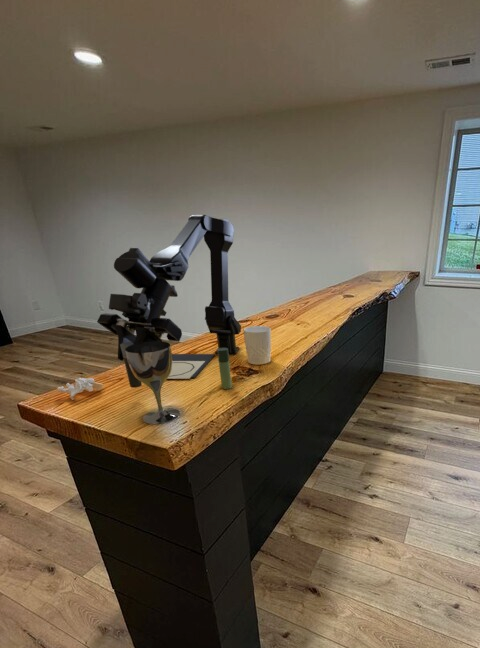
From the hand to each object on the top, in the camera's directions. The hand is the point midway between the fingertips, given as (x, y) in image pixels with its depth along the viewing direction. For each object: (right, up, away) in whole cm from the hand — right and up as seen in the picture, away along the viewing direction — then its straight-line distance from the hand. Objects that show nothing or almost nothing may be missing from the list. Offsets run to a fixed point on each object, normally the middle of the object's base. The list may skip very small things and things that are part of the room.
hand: (124, 360), depth 76 cm
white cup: (+24, +2, +29) cm, 38 cm away
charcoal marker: (0, -6, +4) cm, 7 cm away
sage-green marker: (+19, -6, +11) cm, 23 cm away
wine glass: (+10, -12, -3) cm, 16 cm away
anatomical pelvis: (-14, -8, +7) cm, 17 cm away
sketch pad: (+1, 0, +25) cm, 25 cm away
